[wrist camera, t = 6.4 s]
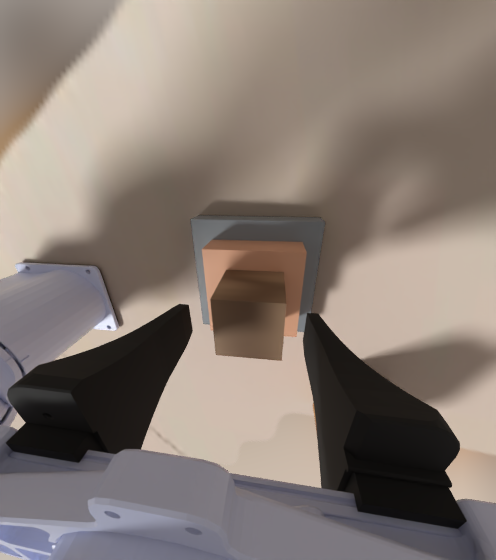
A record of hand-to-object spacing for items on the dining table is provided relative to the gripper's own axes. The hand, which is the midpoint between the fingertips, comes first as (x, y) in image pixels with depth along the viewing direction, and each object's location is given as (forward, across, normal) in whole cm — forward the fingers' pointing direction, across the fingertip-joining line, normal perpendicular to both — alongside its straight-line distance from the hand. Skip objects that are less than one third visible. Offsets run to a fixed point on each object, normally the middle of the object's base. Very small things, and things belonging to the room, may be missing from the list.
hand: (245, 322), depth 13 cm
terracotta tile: (+6, 0, 0) cm, 6 cm away
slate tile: (+8, 0, 0) cm, 8 cm away
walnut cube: (+3, 0, 0) cm, 3 cm away
